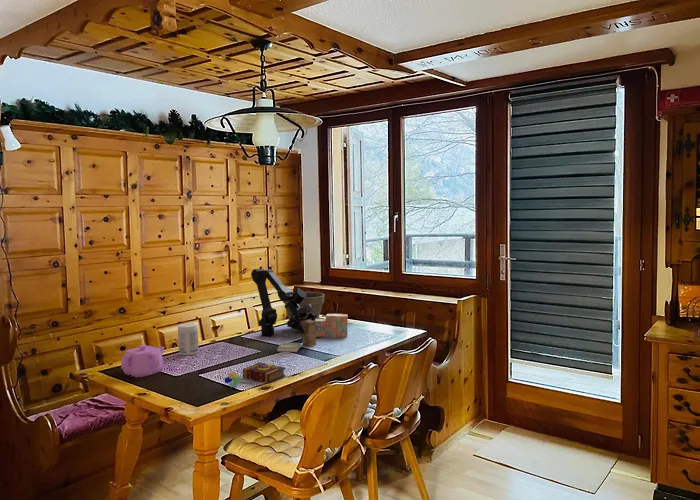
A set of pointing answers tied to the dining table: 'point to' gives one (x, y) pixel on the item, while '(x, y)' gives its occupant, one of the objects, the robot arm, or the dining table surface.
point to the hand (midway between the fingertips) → (310, 331)
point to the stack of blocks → (332, 326)
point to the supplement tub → (188, 339)
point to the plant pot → (311, 298)
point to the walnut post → (309, 333)
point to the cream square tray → (289, 347)
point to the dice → (233, 379)
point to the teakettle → (142, 361)
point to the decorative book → (264, 372)
